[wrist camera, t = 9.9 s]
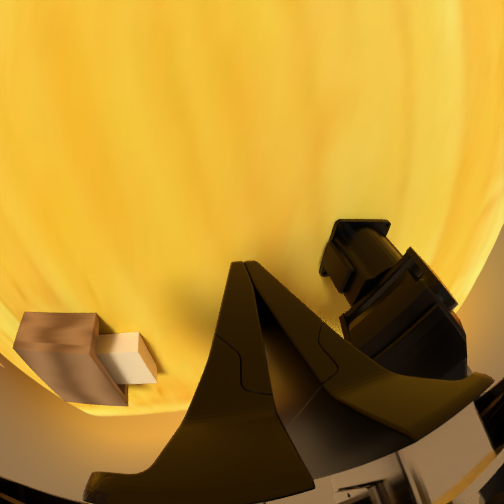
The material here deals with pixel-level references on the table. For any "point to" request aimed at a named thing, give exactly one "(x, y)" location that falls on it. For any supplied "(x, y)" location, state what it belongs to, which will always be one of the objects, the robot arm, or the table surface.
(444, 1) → the table surface
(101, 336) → the beige block
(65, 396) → the wood grain block
